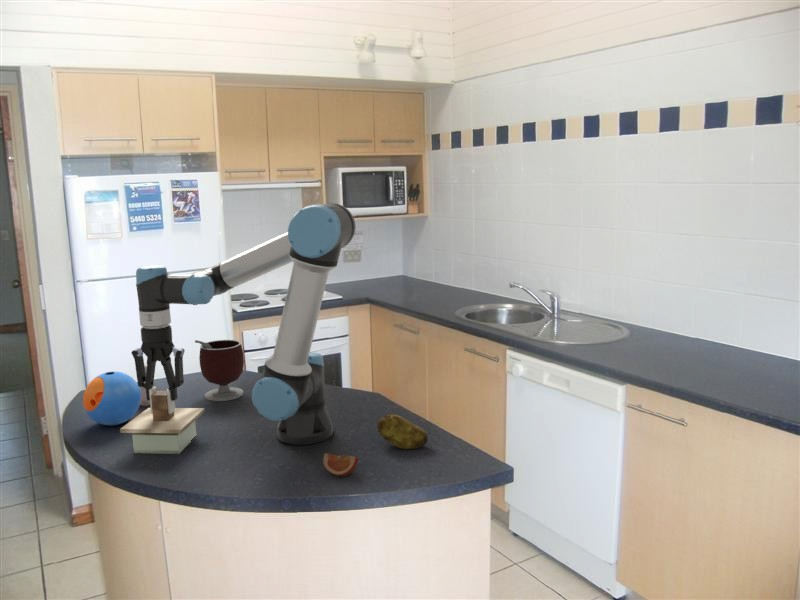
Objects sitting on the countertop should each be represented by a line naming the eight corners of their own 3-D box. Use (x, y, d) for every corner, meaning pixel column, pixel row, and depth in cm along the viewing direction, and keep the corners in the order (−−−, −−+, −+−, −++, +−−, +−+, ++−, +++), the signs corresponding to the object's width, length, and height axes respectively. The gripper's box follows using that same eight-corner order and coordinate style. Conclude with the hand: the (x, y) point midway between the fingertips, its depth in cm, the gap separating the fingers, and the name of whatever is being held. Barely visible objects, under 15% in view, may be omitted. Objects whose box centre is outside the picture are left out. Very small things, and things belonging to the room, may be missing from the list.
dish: (196, 436, 183) (195, 418, 182) (178, 453, 171) (177, 435, 170) (154, 435, 184) (152, 418, 183) (134, 453, 172) (132, 435, 171)
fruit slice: (319, 477, 156) (318, 457, 155) (331, 465, 163) (330, 446, 162) (351, 482, 153) (350, 461, 153) (363, 470, 160) (362, 450, 159)
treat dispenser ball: (153, 421, 195) (148, 371, 192) (101, 437, 183) (96, 384, 181) (126, 410, 205) (122, 362, 202) (76, 425, 193) (70, 374, 191)
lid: (204, 411, 184) (202, 383, 182) (181, 433, 168) (178, 403, 167) (148, 411, 185) (146, 383, 184) (120, 432, 169) (117, 402, 168)
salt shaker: (161, 403, 211) (157, 363, 209) (146, 408, 207) (142, 368, 204) (149, 400, 215) (146, 361, 212) (134, 405, 210) (130, 365, 208)
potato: (413, 456, 167) (412, 426, 165) (372, 445, 174) (371, 416, 173) (431, 445, 173) (430, 416, 172) (391, 435, 181) (390, 407, 179)
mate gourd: (232, 385, 228) (229, 329, 224) (253, 394, 218) (250, 335, 214) (190, 396, 218) (185, 336, 214) (210, 406, 208) (205, 344, 204)
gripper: (116, 328, 169) (125, 416, 173) (182, 328, 168) (189, 417, 172) (130, 322, 176) (138, 406, 180) (193, 322, 175) (199, 407, 179)
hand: (163, 411), depth 176 cm, fingers closed on lid, 4 cm apart
